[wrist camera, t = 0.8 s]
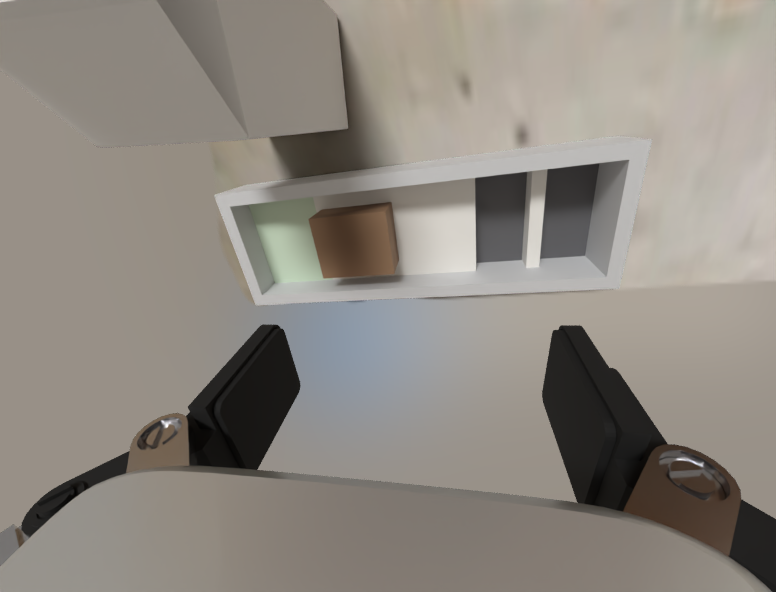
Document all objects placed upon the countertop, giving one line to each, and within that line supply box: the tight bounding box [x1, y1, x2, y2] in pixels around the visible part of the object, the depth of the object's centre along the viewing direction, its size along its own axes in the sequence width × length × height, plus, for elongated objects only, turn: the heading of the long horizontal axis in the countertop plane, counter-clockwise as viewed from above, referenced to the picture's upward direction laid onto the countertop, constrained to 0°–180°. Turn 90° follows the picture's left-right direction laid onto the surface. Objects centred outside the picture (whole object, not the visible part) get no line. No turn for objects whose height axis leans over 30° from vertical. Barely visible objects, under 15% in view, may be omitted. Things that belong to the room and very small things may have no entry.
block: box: [308, 202, 399, 279], centre depth 26 cm, size 6×5×3 cm
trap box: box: [214, 136, 652, 305], centre depth 26 cm, size 30×10×4 cm, turn 98°
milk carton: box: [0, 0, 348, 148], centre depth 16 cm, size 7×7×19 cm
